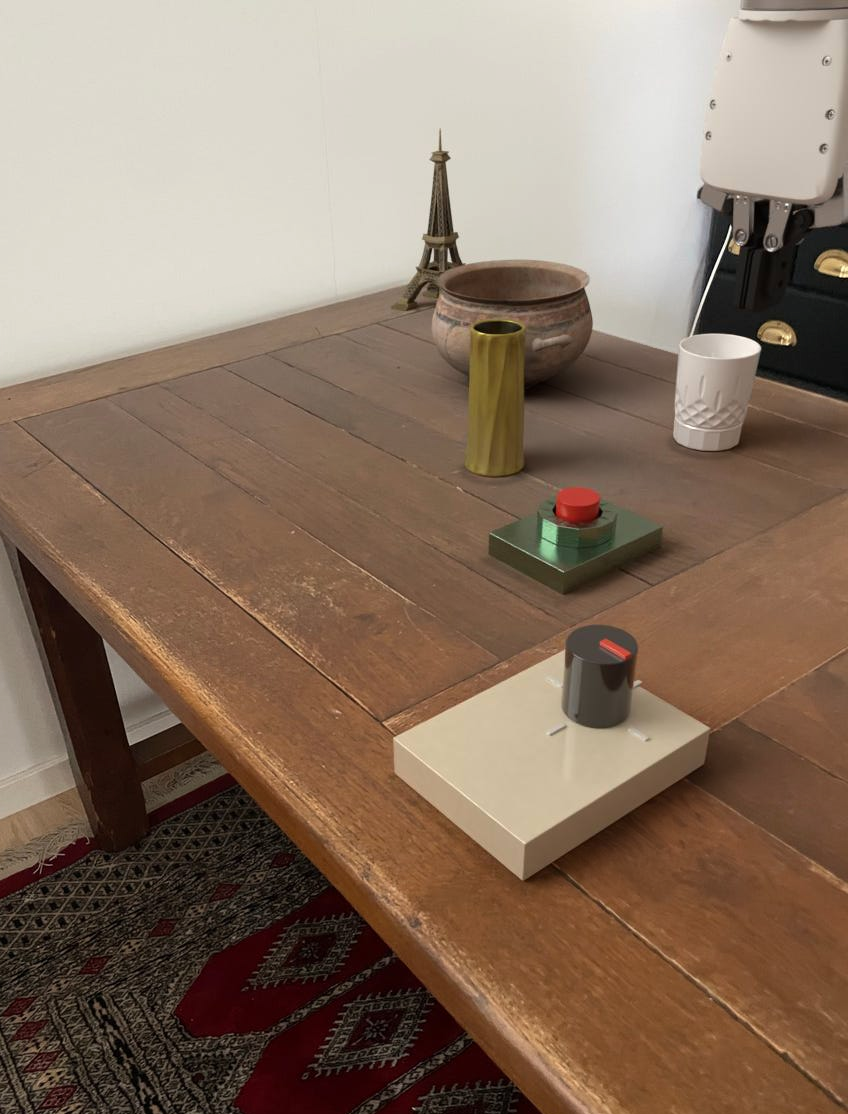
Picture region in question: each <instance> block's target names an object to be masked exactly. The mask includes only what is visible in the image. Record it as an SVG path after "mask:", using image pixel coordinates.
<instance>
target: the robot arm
mask: <svg viewBox="0 0 848 1114" xmlns="http://www.w3.org/2000/svg"><path fill="white" fill-rule="evenodd" d="M739 7H740V8H739V11H738V16H732V17H731V18H730V21H729V24H728V27H727V30H726V33H725V36H724V39H723V42H722V45H721V49H720V53H719V56H718V60H717V63H716V66H715V71H714V76H713V80H712V84H711V85H712V86H711V89H710V94H709V99H708V104H707V108H706V115H705V119H704V126H703V132H702V138H701V139H702V140H701V149H700V157H699V176H700V179H701V181H702V182H703V186H702V189H701V192H700V195H699V197H700V201H701V202H702V203H703V204H704V205H706V206H708V207H710V208H712V209H714V210H715V211H717V212H720V213H723V214H724V217H725V218H726V220H727V222H728V224H729V225H730V228H731V229H732V241H733V243H734V244H735V245H736V246H737V247H739V251H738V257H737V263H736V264H737V265H736V271H735V277H734V283H733V285H734V286H733V288H734V297H733V302H732V306H733V309H734V308H735V309H738V310H744V309H746V311H747V312H750V313H754V314H755V313H759V312H762V311H765V310H767V309H771V308H773V307H776V306H779V305H780V304H781V302H782V300H783V297H784V295H785V294H786V291H787V287H788V282H789V276H790V273H791V272H790V271H791V266H792V260H793V255H794V248H795V246H799V245H800V244H802V243H803V242H804V240H805V238H806V237H807V236H809V234H811V233H812V232H813V231H814V230H815V229H818V228H819V229H820V228H827V227H828V228H829V227H835V226H841V225H844V224H847V223H848V0H740V4H739ZM819 204H821V205H819Z"/></svg>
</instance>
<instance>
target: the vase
mask: <svg viewBox="0 0 848 1114" xmlns="http://www.w3.org/2000/svg"><path fill="white" fill-rule="evenodd" d="M525 335H526V327H525V325H524V324H523V323H521V322H519V321H515V320H511V319H487V320H482V321H478V322H476V323H474V324H473V325H472V326H471V330H470V377H469V381H468V382H469V383H468V384H469V385H468V421H467V422H468V423H467V424H468V425H467V437H466V450H465V457H464V467H465V468H466V469H467V470H468V471H469V472H471V473H473V474H474V475H477V476H482V477H487V478H501V477H507V476H511V475H515V474H517V473H518V472H520V471H521V470H522V469H523V468H524V466H525V456H524V430H525V429H524V428H525V426H524V425H525V389H524V360H525Z"/></svg>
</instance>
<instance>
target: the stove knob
mask: <svg viewBox="0 0 848 1114" xmlns="http://www.w3.org/2000/svg"><path fill="white" fill-rule="evenodd" d="M564 648H565V649H564V650H565V660H564V673H563V686H562V699H561V707H562V710H563V712H564V713H565V715H566V716H567V717H568V718H569V719H571V720H572V721H574V722H576V723H578V724H580V725H583V726H587V727H593V728H607V727H612V726H616V725H618V724H620V723H622V722H623V721H625V720H626V719H627V717H628V716H629V714H630V710H631V702H632V694H633V686H634V682H635V677H636V668H637V662H638V655H639V653H638V652H639V644H638V641H637V639H636V638H635V637H634V636H633V635H632V634H631V633H629V632H627V631H626V630H624V629H622V628H620V627H616V626H614V625H607V624H589V625H584V626H580V627H578V628H575V629H574V630H572V631H571V632H570V633H569V634H568V636H567V637H566V639H565V647H564Z"/></svg>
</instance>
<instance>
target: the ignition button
mask: <svg viewBox="0 0 848 1114" xmlns="http://www.w3.org/2000/svg"><path fill="white" fill-rule="evenodd" d="M556 496H557V501H556V516H557V517H558V518H561V519H563V520H565V521H571V522H588V521H593V520H595V519H597V518H598V516H599V505H600V498H601V495H600V494H599V493H598V492H596V491H595V490H593V489H591V488H588V487H587V488H585V487H580V486H579V487H578V486H576V487H567V488H564V489H562V490H560V491H558V493H557V494H556Z"/></svg>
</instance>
